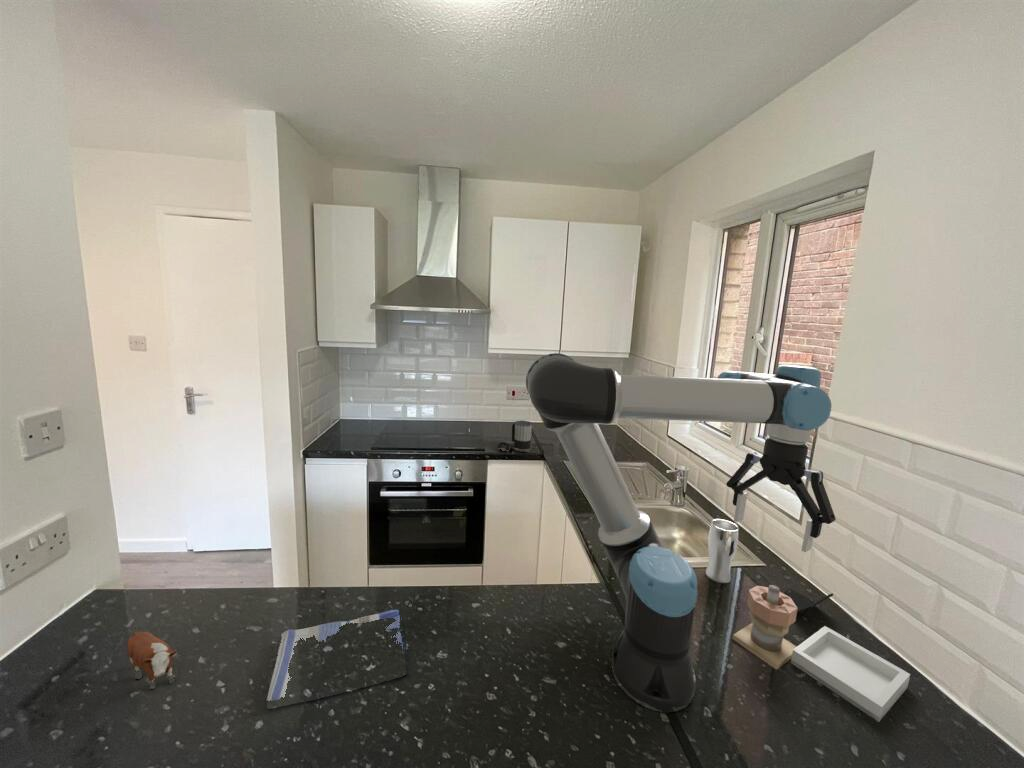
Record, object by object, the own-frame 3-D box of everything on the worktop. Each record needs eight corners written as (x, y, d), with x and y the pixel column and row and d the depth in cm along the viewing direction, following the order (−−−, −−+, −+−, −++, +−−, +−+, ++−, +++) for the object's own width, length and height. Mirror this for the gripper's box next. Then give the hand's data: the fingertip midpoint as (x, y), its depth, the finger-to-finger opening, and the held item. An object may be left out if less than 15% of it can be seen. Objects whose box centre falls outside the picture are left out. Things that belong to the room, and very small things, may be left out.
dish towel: (282, 638, 83) (282, 626, 82) (401, 616, 90) (401, 604, 90) (261, 716, 67) (260, 702, 66) (408, 681, 74) (408, 668, 74)
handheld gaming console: (781, 581, 107) (812, 567, 100) (804, 608, 103) (838, 595, 97) (762, 604, 100) (794, 590, 93) (787, 633, 97) (822, 621, 90)
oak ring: (776, 640, 81) (778, 627, 81) (744, 619, 87) (746, 607, 86) (792, 629, 85) (794, 616, 84) (760, 610, 90) (762, 597, 89)
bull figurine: (154, 710, 66) (149, 666, 65) (125, 670, 73) (121, 630, 72) (186, 690, 70) (182, 648, 69) (156, 654, 77) (152, 615, 76)
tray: (878, 722, 70) (882, 707, 70) (790, 662, 82) (792, 649, 82) (907, 687, 78) (910, 674, 77) (822, 638, 89) (824, 625, 89)
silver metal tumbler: (736, 586, 106) (743, 533, 104) (707, 582, 107) (714, 529, 105) (727, 571, 113) (734, 520, 110) (701, 566, 114) (707, 517, 112)
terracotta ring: (781, 631, 80) (783, 617, 79) (740, 606, 86) (742, 593, 86) (801, 617, 84) (803, 604, 83) (761, 594, 91) (762, 582, 90)
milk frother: (534, 450, 211) (536, 423, 209) (514, 457, 199) (516, 428, 197) (514, 444, 220) (515, 417, 218) (493, 450, 208) (495, 422, 206)
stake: (776, 669, 80) (786, 608, 78) (732, 638, 88) (740, 581, 86) (798, 652, 85) (809, 594, 83) (755, 624, 92) (763, 570, 90)
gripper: (869, 455, 76) (847, 559, 79) (736, 423, 97) (722, 507, 100) (855, 461, 72) (832, 570, 75) (719, 426, 92) (705, 513, 96)
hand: (770, 534), depth 88 cm, fingers open, 13 cm apart
